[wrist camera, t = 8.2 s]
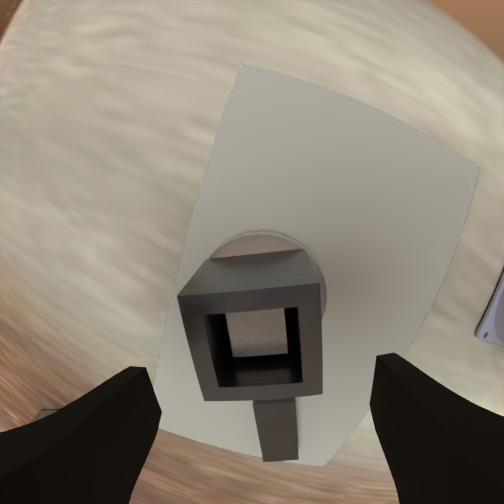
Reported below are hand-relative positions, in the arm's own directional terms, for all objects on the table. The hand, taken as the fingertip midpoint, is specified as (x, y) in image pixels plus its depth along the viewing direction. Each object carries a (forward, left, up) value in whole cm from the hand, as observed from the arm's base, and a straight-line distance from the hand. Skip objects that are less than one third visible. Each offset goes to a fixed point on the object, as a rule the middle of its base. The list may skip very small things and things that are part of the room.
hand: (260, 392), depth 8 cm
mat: (-3, +2, -9) cm, 10 cm away
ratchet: (-2, +5, -9) cm, 10 cm away
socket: (0, 0, -7) cm, 7 cm away
